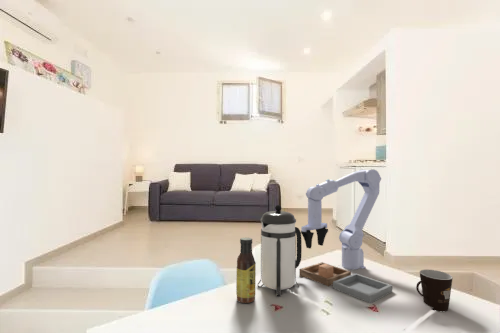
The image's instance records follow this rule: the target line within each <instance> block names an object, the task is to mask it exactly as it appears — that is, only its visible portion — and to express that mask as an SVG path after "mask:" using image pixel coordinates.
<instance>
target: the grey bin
mask: <svg viewBox="0 0 500 333" xmlns="http://www.w3.org/2000/svg"><path fill="white" fill-rule="evenodd" d="M332 289H335V290H337V291H339V292H342V293H343V294H346V295H349V296H351V297H354V298H357V299H358V300H360V301H361V300H362V301H364V302H366V303H369V304H371V303H373V302H375V301H377V300H379V299H382V298H383V297H385V296H387V295H389V294H391V293H392V292H393V285H392V284H389V283H386V282H383V281H380V280H377V279H374V278H371V277H368V276H366V275H364V274H363V275H362V274H359V273H356V272H355V273H351V275H350V276H347V277H344V278H342V279H339V280H336V281H334V282H333V285H332Z"/></svg>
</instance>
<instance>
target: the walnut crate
mask: <svg viewBox="0 0 500 333" xmlns="http://www.w3.org/2000/svg"><path fill="white" fill-rule="evenodd" d="M323 264H327V265H330V266H333V277H331V278H325V277H322V276H320V275H319V265H323ZM350 275H352V272H351V271H350V270H348V269H345V268H341V267H339V266H336V265H332V264H329V263H325V262H323V261H322V262H318V263H315V264H311V265H308V266H305V267H301V268H300V269H299V277H300V278H302V279H303V278H307V279H309V280H312V281H314V282H317V283H319V284H322V285H324V286H326V287H330V286H333V282H334V281H336V280H339V279H342V278H344V277H347V276H350Z"/></svg>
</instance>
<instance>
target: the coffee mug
mask: <svg viewBox="0 0 500 333" xmlns="http://www.w3.org/2000/svg"><path fill="white" fill-rule="evenodd" d="M419 279H420V280H419V281H418V282H417V283H416V291H417V293H418V294H419V295H420V296H421V297H422V299H423V300H422V301H423V303H424V304H425V305H426V306H428V307H431V310H432V311H435V310H436V311H435V312H440V311H442V312H443V311H445V312H448V311H449V306H450V300H451V292H452V284H453V275H451V274H450V273H447V272H444V271H441V270H436V269H421V270H419ZM420 286H421V291H420V289H419V287H420Z"/></svg>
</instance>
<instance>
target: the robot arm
mask: <svg viewBox="0 0 500 333" xmlns="http://www.w3.org/2000/svg"><path fill="white" fill-rule="evenodd" d="M381 180H382V177H381V175H380V173H379V171H378V170H377V169H363V168H361V169H359V170H355V171H353V172H350V173H349V174H346V175H344V176H341V177H340V178H338V179H336V180H335V179H329V178H328V179H325V181H324V182H321V183H317V184H315V186H310V187H308V189H307V190H306V192H305V196H306V198H307V224H305V225H303V226H301V230H300V232H301V236H302V237H303V240H304V243H305V246H306V249H312V245H313V238H314V234H315V233H316V235H317V244H318V245H319V246H324V243H325V239H326V236H327V234H328V233H329V229H328V223H326V222H322V221H323V220H322V219H323V218H322V213H323V212H322V210H323V208H322V200H323V198H324V197H325V198H326V197H327V196H329V195H331V194H334V193H336V192H338V190H339V188H341V187H343V186H347V185H348V184H349V185H350V184H351V183H354V182H357V183H359V185H360V186H361V187H362V189H363V191H364V194H363V196H362V197H361V199H360V202H359V204H358V206H357V209H356V210H355V213H354V215H353V217H352V219H351V220H350V223H349V224H348V225H346V226H344V229H343V230H342V231H340V233H339V236H338V240H339V241H340V243H341V264H340V265H338V267H340V266H341V267H343V269H346V270H358V269H366V266H365V264H364V260H365V258H364V257H365V255H364V251H363V249H362V248H361V247H362V245H363V238H364V232H363V229H364V227H365V225H366V222H367V220H368V218H369V216H370V214H371V212H372V210H373V207H374V205H375V203H376V201H377V199H378V196H379V195H380V183H381ZM312 231H315V232H312Z"/></svg>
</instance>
